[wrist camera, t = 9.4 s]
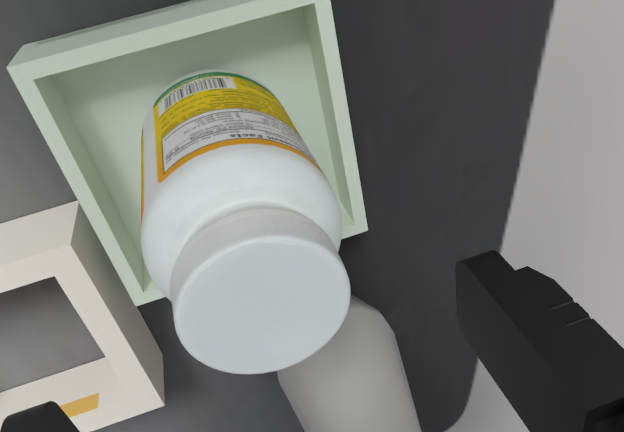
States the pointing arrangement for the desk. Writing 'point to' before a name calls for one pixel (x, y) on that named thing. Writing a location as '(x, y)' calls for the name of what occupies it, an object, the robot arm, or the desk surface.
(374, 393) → the salt shaker
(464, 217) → the desk surface
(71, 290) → the white square frame
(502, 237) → the desk surface
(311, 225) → the supplement bottle
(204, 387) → the desk surface
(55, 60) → the tray
